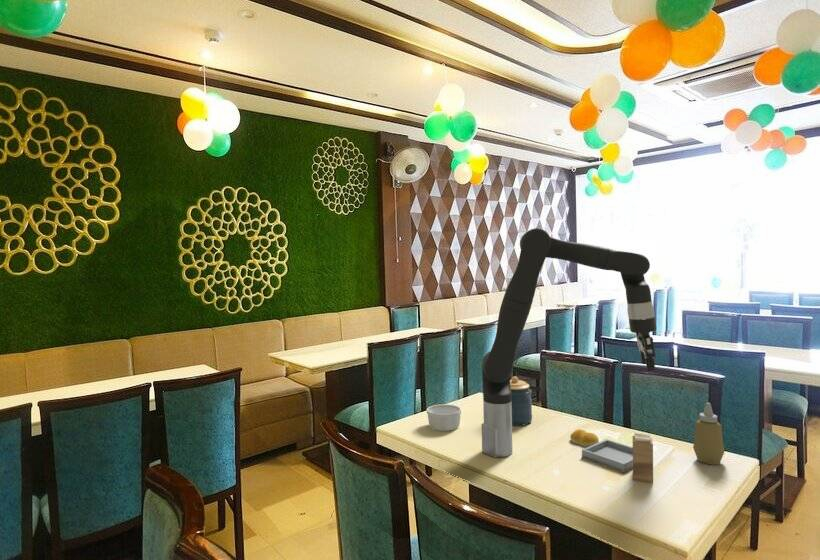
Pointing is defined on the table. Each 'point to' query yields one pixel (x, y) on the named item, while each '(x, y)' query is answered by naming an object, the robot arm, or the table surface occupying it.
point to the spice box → (642, 458)
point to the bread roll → (584, 438)
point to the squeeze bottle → (708, 438)
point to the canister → (520, 402)
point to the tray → (610, 455)
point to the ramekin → (444, 417)
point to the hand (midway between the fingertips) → (648, 366)
